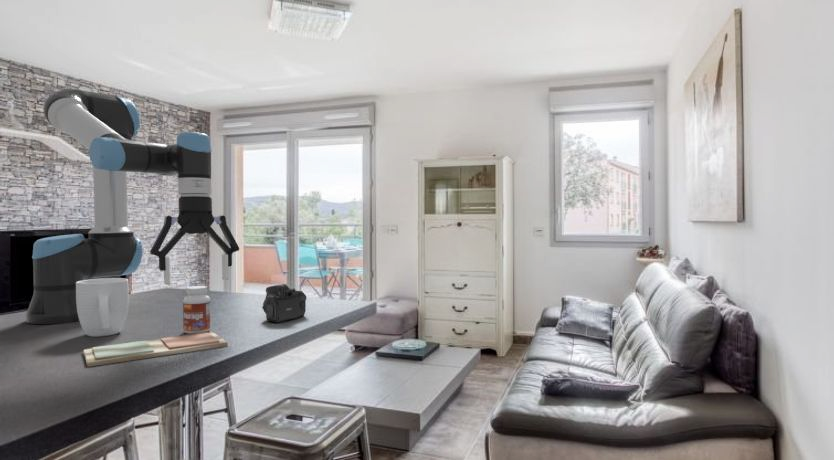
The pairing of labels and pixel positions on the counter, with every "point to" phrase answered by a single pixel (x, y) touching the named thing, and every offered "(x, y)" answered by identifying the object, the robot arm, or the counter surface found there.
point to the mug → (102, 305)
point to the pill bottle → (196, 310)
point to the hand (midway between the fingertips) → (197, 282)
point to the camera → (283, 303)
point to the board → (151, 348)
